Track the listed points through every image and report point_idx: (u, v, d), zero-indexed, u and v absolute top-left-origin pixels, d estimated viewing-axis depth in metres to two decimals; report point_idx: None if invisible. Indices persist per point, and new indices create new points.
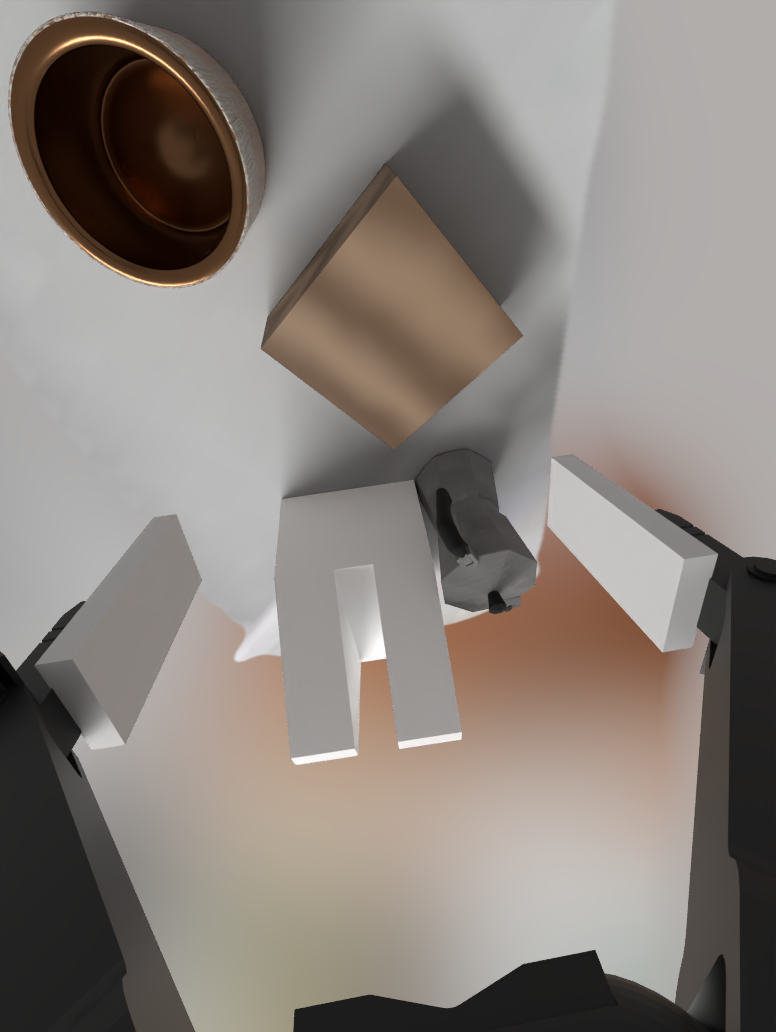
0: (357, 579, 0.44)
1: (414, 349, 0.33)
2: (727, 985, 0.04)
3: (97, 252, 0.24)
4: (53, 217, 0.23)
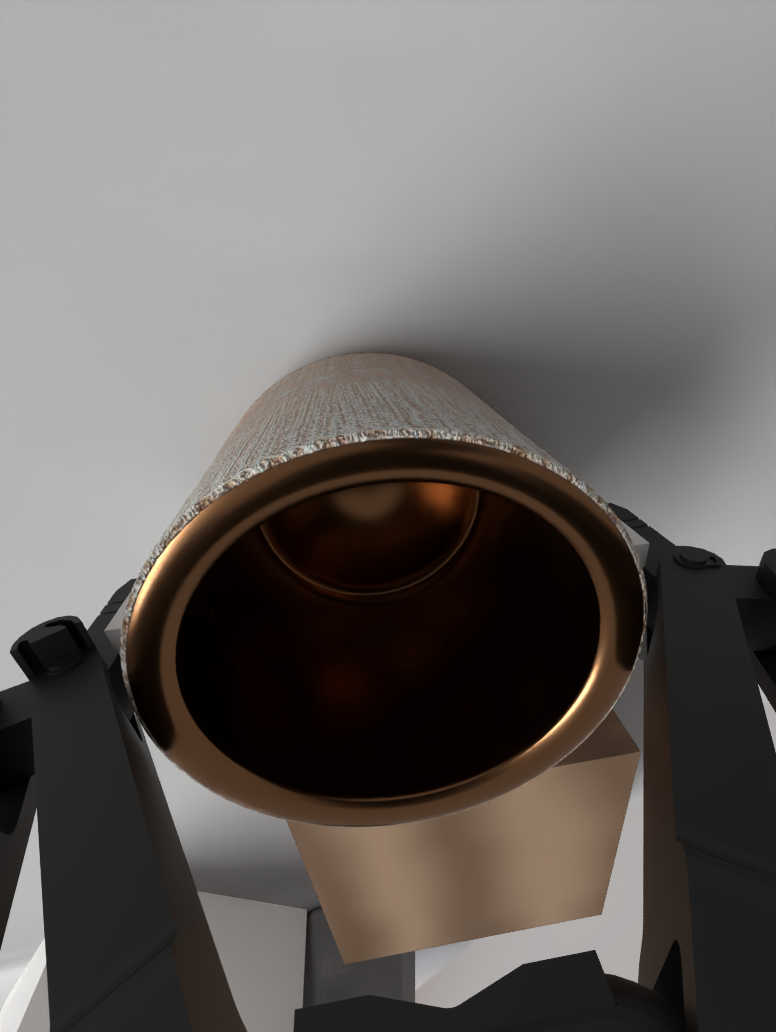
0: None
1: (484, 887, 0.21)
2: (683, 970, 0.04)
3: (163, 720, 0.09)
4: (127, 637, 0.08)
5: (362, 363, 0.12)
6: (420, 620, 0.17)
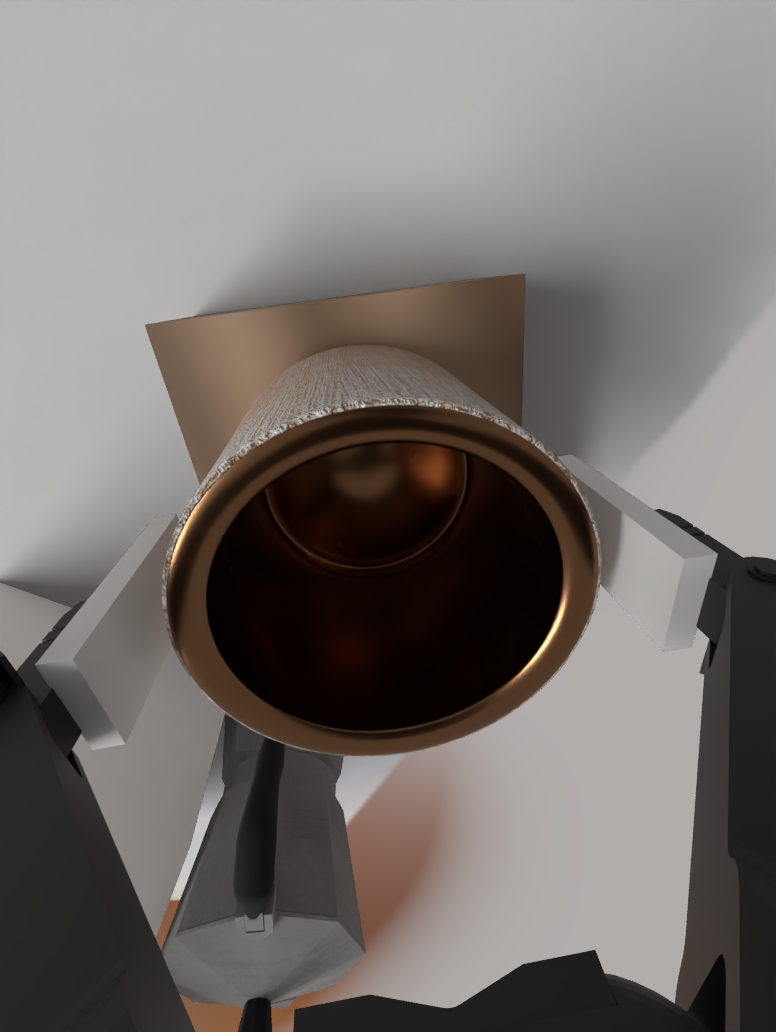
0: None
1: None
2: (727, 985, 0.04)
3: (194, 650, 0.10)
4: (168, 574, 0.09)
5: (361, 353, 0.14)
6: (414, 589, 0.18)
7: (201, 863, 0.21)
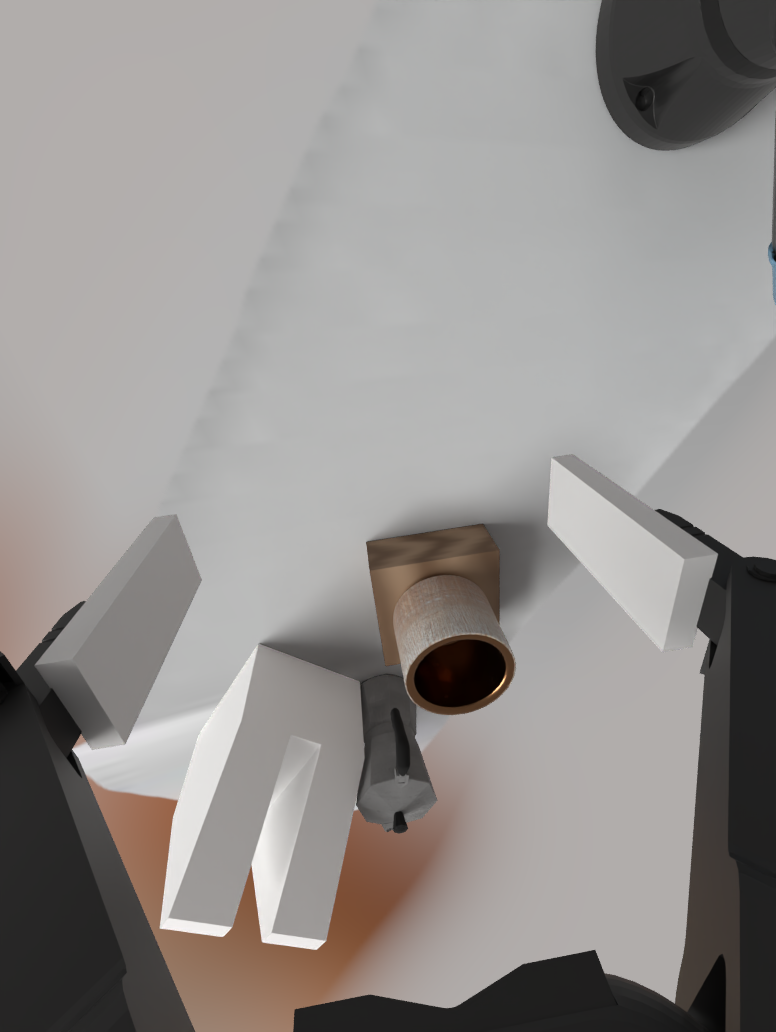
0: (298, 751, 0.50)
1: None
2: (727, 985, 0.04)
3: (410, 685, 0.41)
4: (409, 667, 0.40)
5: (446, 589, 0.44)
6: (458, 656, 0.49)
7: (370, 764, 0.51)
